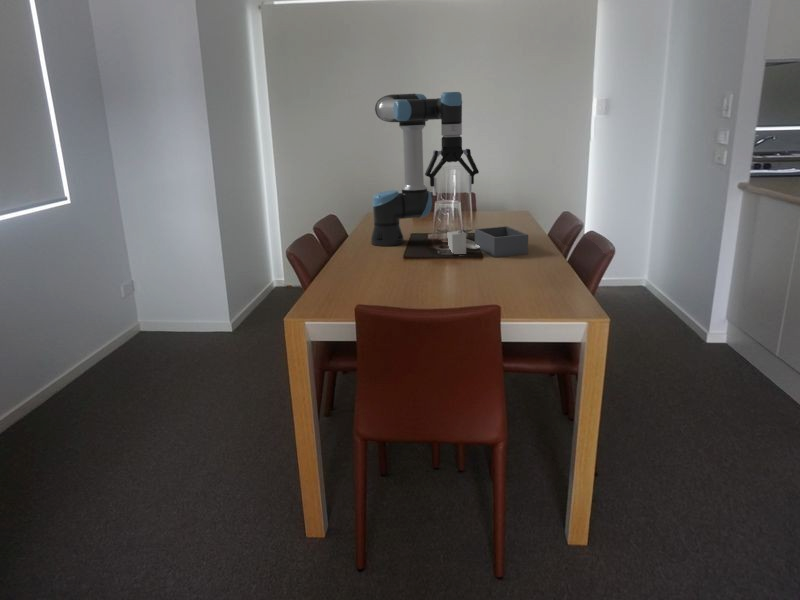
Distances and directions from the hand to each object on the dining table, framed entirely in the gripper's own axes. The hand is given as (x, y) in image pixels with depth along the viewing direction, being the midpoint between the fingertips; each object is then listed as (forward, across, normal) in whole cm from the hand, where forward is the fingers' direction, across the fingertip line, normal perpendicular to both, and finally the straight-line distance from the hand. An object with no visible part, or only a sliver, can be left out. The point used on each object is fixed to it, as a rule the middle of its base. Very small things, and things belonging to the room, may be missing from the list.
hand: (452, 194), depth 227 cm
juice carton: (+27, +6, +15) cm, 32 cm away
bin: (+27, +25, +15) cm, 40 cm away
